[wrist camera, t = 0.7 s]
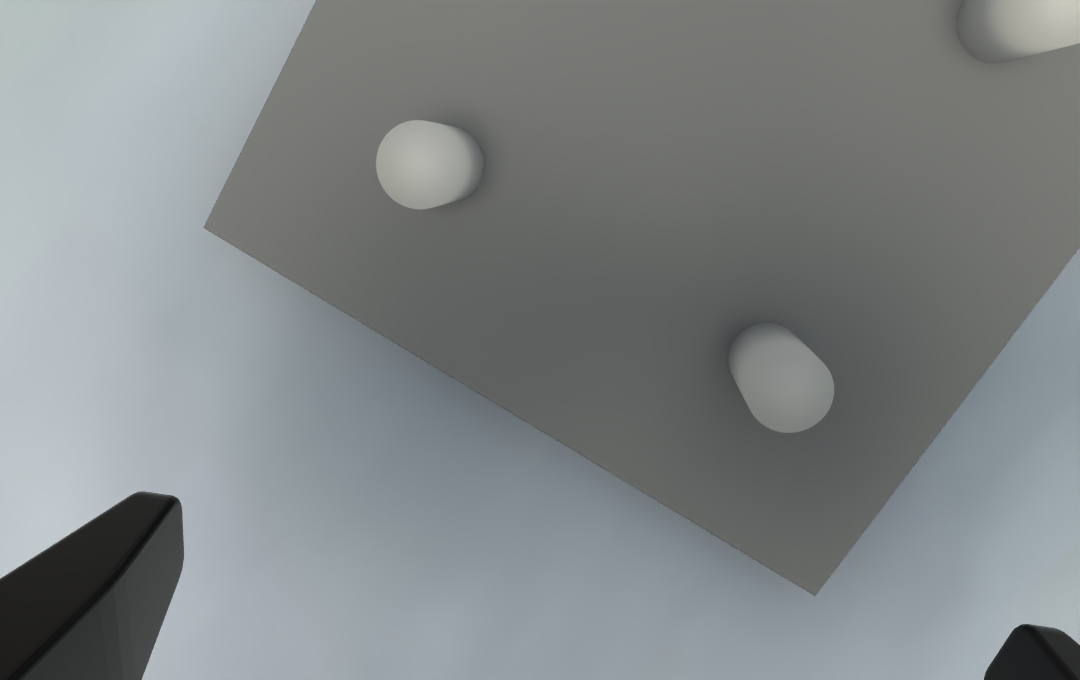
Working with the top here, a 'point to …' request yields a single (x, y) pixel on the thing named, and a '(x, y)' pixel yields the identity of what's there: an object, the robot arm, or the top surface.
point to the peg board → (685, 225)
